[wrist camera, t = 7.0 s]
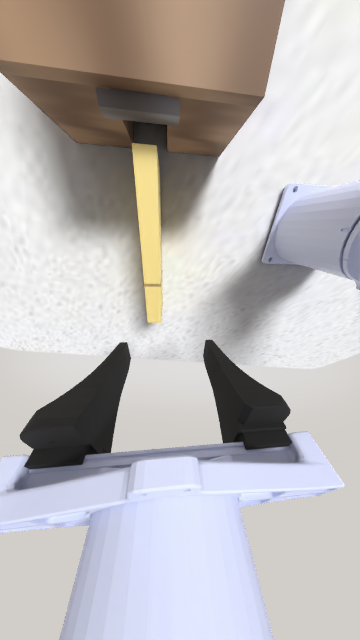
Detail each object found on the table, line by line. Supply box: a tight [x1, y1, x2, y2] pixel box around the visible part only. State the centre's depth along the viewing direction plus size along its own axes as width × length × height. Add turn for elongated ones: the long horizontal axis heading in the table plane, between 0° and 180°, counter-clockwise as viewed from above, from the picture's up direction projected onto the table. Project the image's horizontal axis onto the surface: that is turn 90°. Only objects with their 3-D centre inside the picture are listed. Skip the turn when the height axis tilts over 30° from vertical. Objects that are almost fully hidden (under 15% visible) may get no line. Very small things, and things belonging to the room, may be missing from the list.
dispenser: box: [0, 0, 285, 157], centre depth 8 cm, size 13×10×8 cm
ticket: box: [132, 143, 163, 323], centre depth 16 cm, size 2×14×6 cm, turn 177°
